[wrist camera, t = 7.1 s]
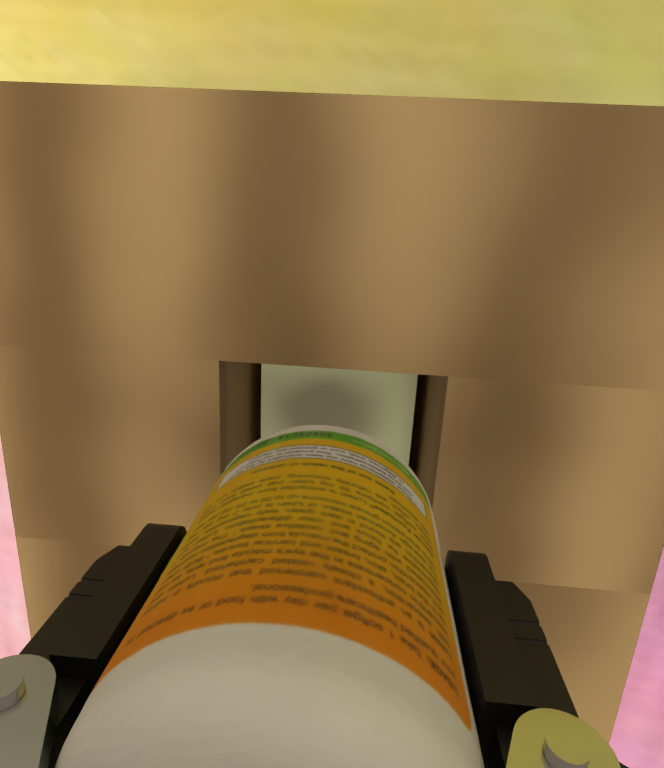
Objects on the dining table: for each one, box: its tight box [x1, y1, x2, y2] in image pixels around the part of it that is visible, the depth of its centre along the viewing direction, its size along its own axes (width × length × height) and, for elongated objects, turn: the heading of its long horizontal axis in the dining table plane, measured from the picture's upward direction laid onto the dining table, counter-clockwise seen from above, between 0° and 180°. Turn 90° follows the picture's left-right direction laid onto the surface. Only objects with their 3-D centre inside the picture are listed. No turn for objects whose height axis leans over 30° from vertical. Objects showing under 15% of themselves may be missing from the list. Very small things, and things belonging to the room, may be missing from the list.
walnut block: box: [0, 81, 664, 744], centre depth 21 cm, size 20×20×11 cm
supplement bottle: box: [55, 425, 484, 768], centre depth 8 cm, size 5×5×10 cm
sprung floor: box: [261, 364, 418, 466], centre depth 20 cm, size 6×6×1 cm
